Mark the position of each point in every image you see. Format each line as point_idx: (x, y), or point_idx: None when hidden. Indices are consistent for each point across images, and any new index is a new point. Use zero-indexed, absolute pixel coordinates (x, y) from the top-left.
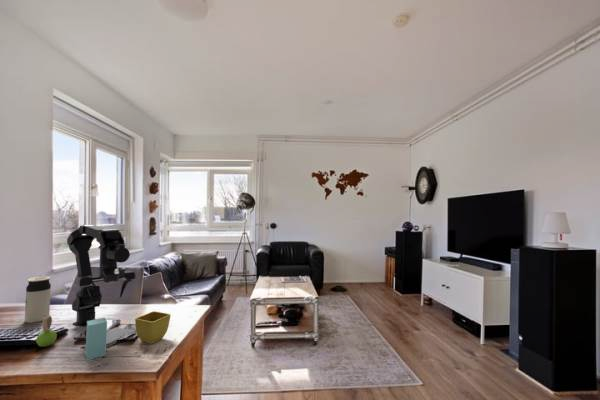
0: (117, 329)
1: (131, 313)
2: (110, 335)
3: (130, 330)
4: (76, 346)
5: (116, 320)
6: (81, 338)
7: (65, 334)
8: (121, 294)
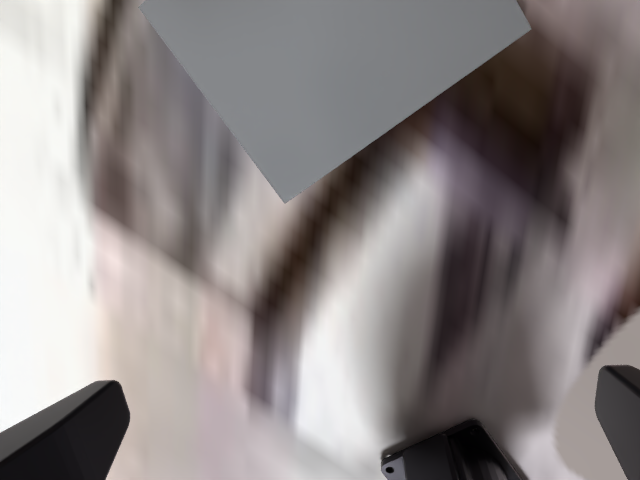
0: (275, 140)
1: (177, 467)
2: (338, 13)
3: (178, 38)
4: (594, 10)
5: (272, 398)
6: (527, 181)
7: (603, 339)
8: (52, 413)
